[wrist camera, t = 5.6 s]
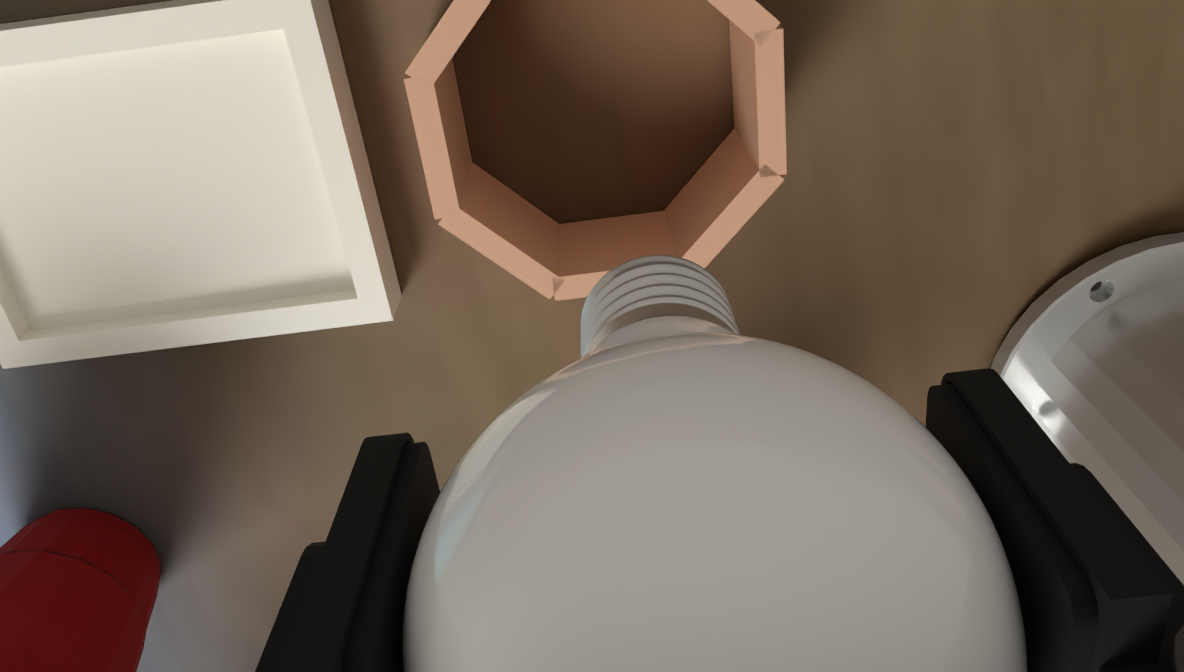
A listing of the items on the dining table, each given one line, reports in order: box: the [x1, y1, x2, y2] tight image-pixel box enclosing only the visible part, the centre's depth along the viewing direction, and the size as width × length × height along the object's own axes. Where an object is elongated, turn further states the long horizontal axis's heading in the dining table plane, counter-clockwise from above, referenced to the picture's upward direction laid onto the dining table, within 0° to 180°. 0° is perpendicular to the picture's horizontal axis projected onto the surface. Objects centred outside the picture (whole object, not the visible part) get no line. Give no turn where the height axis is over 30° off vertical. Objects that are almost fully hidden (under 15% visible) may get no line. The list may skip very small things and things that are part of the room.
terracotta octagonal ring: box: [404, 0, 787, 301], centre depth 28 cm, size 11×11×4 cm
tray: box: [0, 0, 402, 369], centre depth 30 cm, size 14×11×2 cm
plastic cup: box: [0, 508, 161, 672], centre depth 34 cm, size 11×11×12 cm
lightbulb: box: [402, 255, 1028, 672], centre depth 12 cm, size 6×6×11 cm
